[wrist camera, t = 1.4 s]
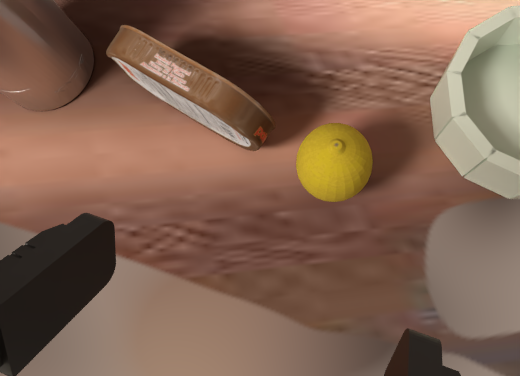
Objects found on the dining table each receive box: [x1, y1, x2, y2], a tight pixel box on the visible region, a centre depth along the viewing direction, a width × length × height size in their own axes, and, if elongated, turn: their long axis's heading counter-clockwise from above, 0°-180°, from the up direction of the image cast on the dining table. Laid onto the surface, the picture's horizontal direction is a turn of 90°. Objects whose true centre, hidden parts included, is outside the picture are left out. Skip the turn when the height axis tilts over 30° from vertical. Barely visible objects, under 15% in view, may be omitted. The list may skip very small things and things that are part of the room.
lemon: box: [296, 123, 373, 202], centre depth 31 cm, size 6×6×8 cm
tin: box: [106, 25, 276, 151], centre depth 34 cm, size 15×3×8 cm, turn 56°
